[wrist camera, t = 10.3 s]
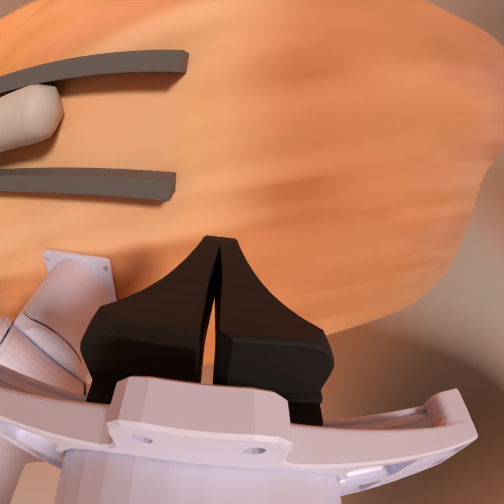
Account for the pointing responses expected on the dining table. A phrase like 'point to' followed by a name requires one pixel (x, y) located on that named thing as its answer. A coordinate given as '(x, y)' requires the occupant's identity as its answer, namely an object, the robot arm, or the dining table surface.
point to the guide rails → (94, 178)
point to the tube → (29, 115)
